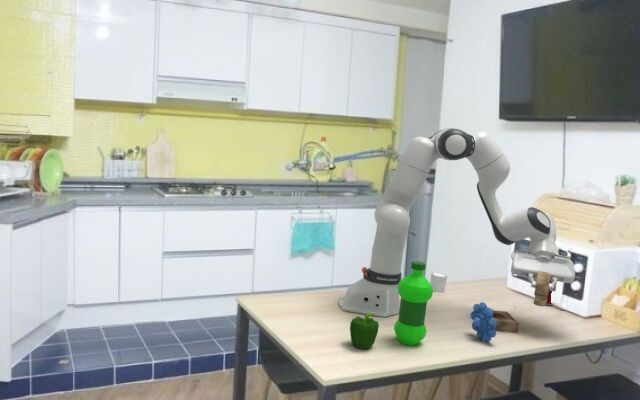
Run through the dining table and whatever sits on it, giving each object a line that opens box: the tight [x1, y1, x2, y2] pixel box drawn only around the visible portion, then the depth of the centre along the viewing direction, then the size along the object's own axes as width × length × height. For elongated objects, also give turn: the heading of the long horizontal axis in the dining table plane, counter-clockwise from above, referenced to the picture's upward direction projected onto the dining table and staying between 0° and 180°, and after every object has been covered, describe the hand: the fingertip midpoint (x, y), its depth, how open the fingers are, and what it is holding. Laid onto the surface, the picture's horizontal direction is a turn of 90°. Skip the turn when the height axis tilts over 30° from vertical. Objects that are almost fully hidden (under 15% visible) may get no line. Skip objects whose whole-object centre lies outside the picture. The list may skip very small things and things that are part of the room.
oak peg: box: [533, 271, 551, 307], centre depth 184 cm, size 4×4×11 cm
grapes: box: [470, 301, 497, 343], centre depth 177 cm, size 12×7×12 cm, turn 25°
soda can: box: [544, 280, 553, 307], centre depth 227 cm, size 7×7×12 cm
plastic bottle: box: [393, 260, 434, 346], centre depth 167 cm, size 10×10×25 cm
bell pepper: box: [349, 313, 380, 350], centre depth 161 cm, size 8×8×10 cm
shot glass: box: [430, 272, 448, 293], centre depth 230 cm, size 7×7×7 cm
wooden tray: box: [492, 309, 520, 334], centre depth 193 cm, size 12×12×4 cm
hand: (542, 288), depth 183 cm, fingers closed on oak peg, 4 cm apart
